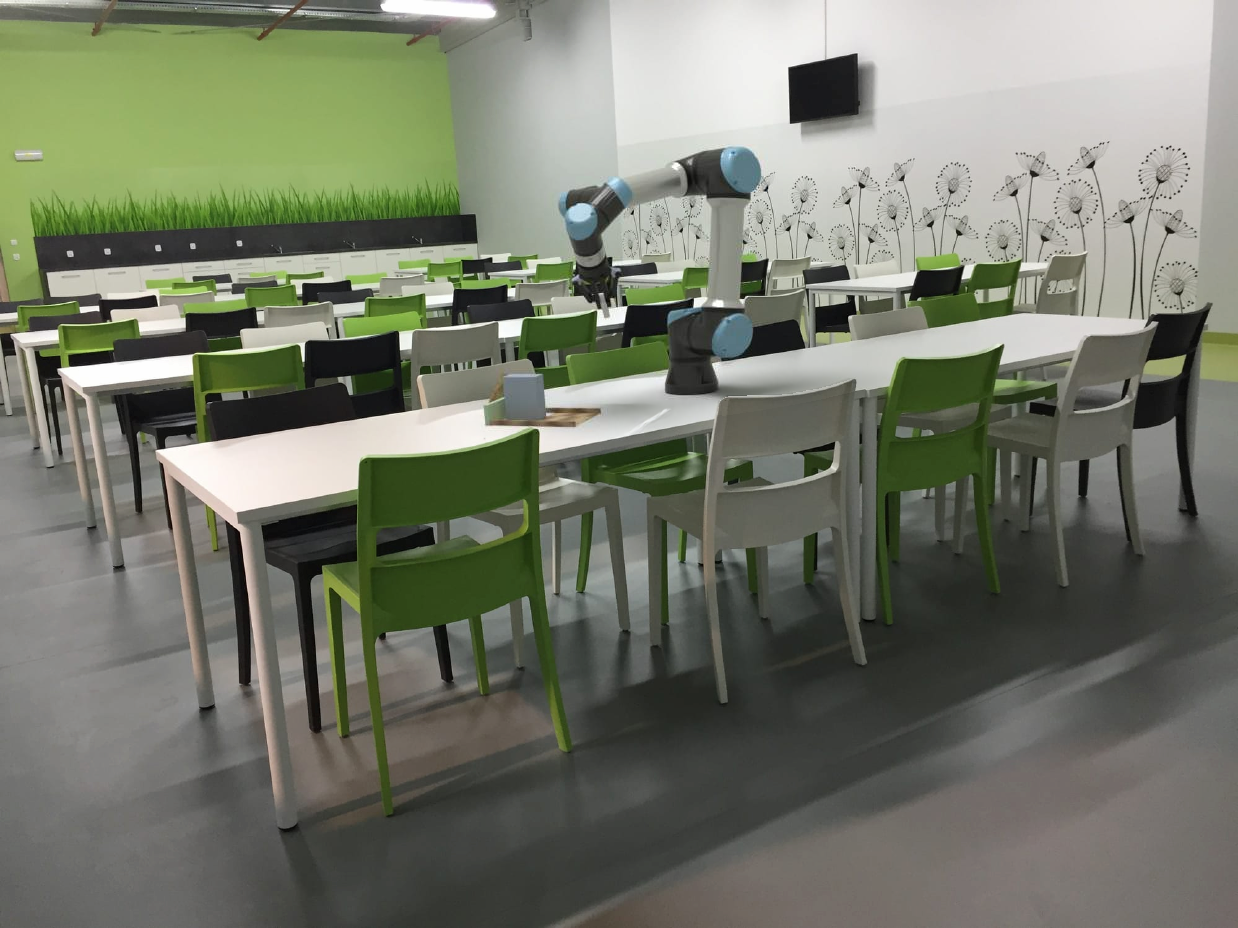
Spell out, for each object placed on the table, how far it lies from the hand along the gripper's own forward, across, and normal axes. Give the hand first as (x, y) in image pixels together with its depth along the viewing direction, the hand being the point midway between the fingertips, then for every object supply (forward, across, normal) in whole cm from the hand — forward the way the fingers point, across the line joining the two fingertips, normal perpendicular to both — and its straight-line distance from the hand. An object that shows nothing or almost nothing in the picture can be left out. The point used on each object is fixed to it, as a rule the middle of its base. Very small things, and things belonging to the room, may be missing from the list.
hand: (606, 313), depth 266 cm
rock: (+11, -32, -17) cm, 38 cm away
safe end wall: (0, -31, -27) cm, 41 cm away
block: (-2, -24, -29) cm, 38 cm away
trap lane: (-2, -19, -31) cm, 37 cm away
